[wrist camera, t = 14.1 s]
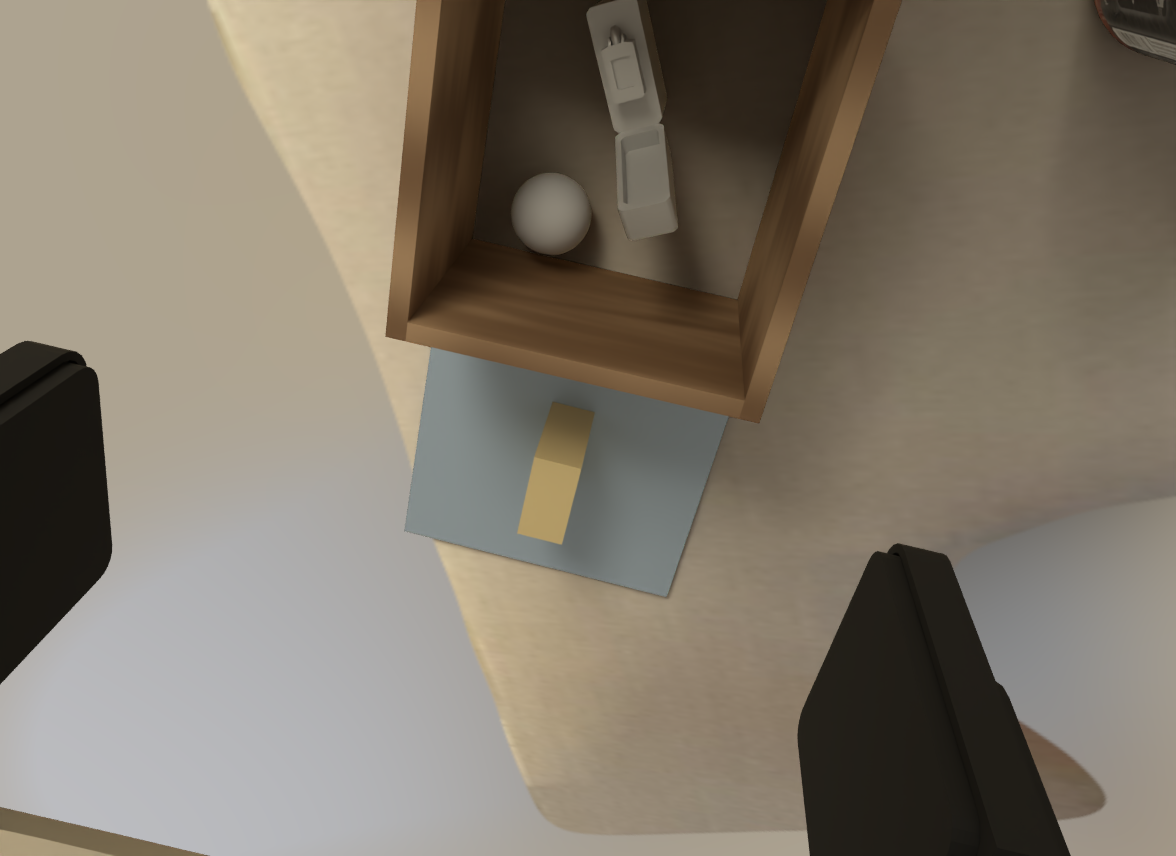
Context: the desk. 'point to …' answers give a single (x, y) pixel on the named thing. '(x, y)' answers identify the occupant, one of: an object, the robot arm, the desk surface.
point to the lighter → (635, 115)
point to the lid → (558, 471)
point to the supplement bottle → (1142, 25)
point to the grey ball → (551, 213)
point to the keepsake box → (598, 296)
